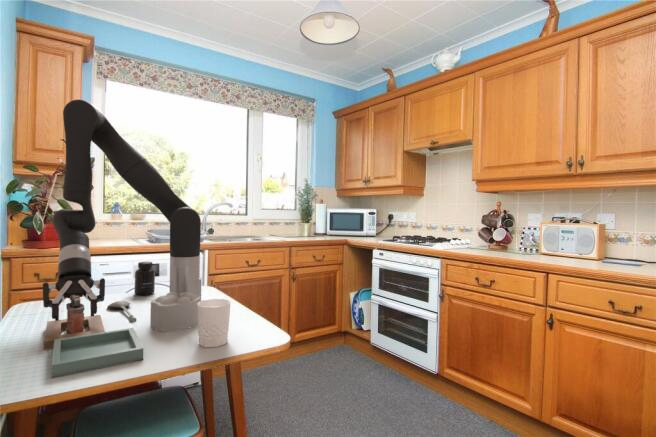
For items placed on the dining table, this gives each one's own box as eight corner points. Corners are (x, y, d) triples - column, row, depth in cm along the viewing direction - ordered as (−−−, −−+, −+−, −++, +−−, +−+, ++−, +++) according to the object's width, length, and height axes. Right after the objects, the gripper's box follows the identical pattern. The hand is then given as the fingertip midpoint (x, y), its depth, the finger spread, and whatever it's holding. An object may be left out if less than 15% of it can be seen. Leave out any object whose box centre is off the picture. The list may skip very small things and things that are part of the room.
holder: (100, 321, 104) (100, 314, 104) (104, 340, 90) (105, 332, 90) (47, 328, 97) (47, 321, 97) (43, 350, 83) (43, 341, 83)
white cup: (201, 337, 94) (201, 298, 94) (232, 336, 95) (232, 298, 94) (192, 348, 86) (193, 307, 86) (226, 348, 87) (227, 307, 86)
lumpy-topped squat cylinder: (146, 325, 102) (147, 294, 102) (190, 315, 112) (191, 287, 111) (162, 334, 95) (163, 301, 95) (208, 323, 105) (208, 293, 104)
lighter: (87, 336, 92) (87, 297, 92) (71, 340, 90) (71, 300, 89) (78, 329, 98) (79, 292, 97) (63, 332, 95) (63, 294, 95)
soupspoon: (128, 307, 123) (105, 311, 119) (127, 297, 123) (105, 301, 119) (145, 320, 107) (119, 326, 102) (144, 309, 107) (119, 314, 102)
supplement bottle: (146, 296, 133) (146, 264, 133) (130, 295, 135) (130, 263, 134) (158, 292, 140) (159, 261, 140) (143, 291, 141) (143, 260, 141)
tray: (133, 337, 92) (133, 327, 92) (143, 359, 79) (143, 348, 79) (54, 350, 83) (54, 339, 83) (51, 378, 70) (51, 365, 70)
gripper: (41, 257, 95) (38, 313, 86) (105, 254, 103) (109, 305, 94) (42, 274, 99) (39, 329, 90) (104, 270, 108) (107, 320, 98)
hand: (75, 316), depth 92 cm, fingers open, 7 cm apart
